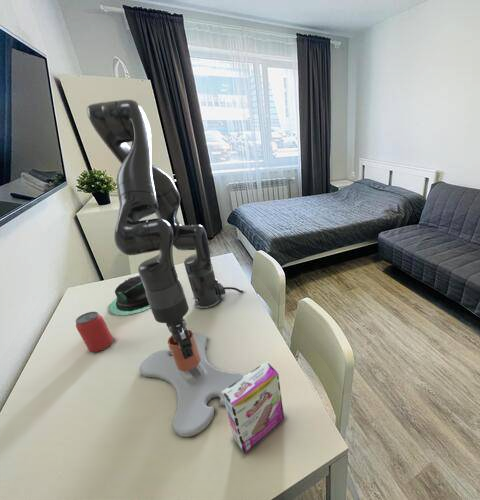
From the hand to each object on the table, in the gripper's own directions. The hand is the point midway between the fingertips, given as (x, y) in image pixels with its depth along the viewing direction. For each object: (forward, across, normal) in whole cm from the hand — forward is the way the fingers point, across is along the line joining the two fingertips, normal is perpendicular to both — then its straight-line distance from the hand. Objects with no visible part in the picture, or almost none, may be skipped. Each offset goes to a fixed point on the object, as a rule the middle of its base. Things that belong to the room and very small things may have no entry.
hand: (185, 349), depth 73 cm
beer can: (+11, +35, +19) cm, 41 cm away
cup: (+5, 0, 0) cm, 5 cm away
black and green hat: (+11, +57, +5) cm, 58 cm away
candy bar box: (+11, -26, -7) cm, 29 cm away
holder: (+11, 0, 0) cm, 11 cm away
